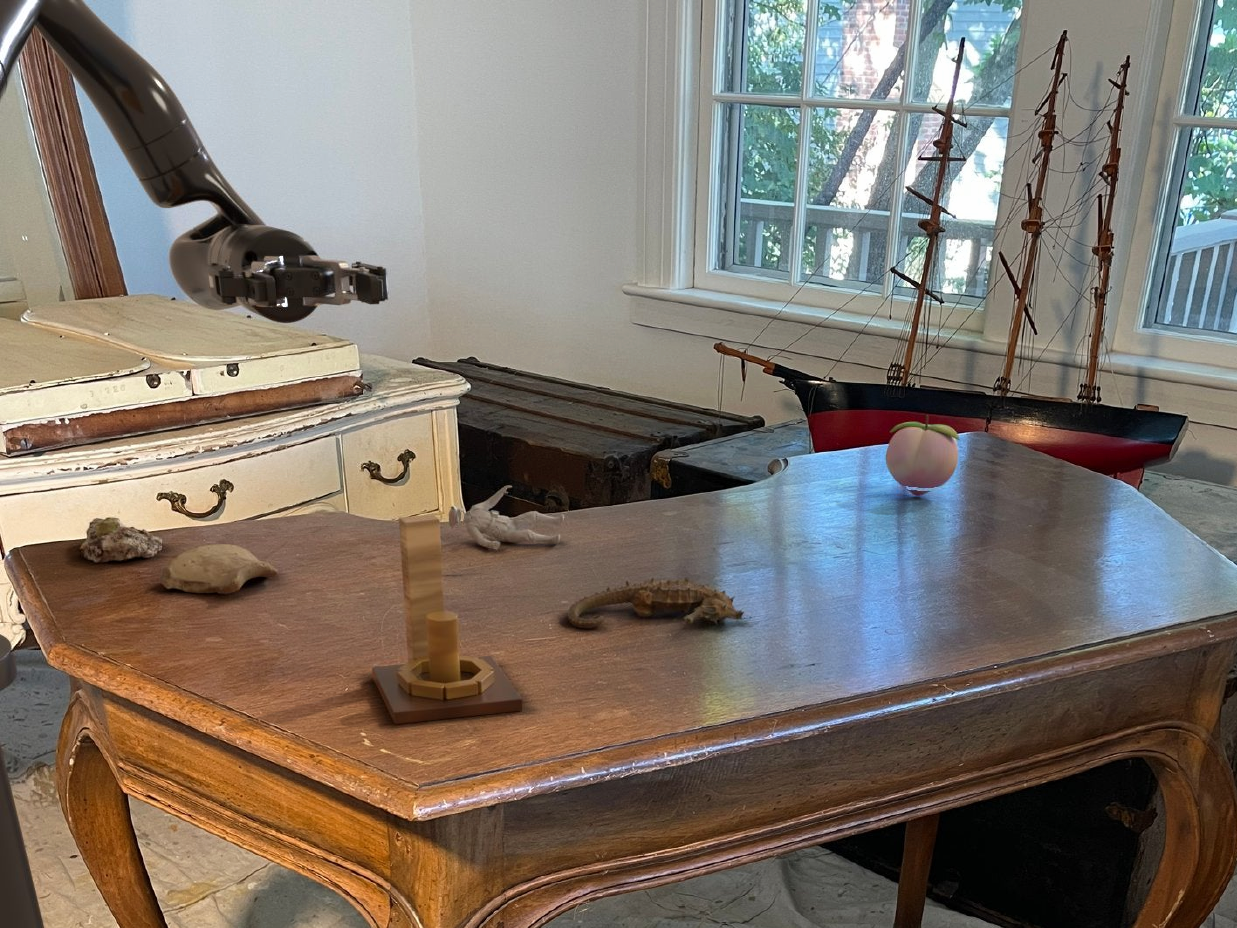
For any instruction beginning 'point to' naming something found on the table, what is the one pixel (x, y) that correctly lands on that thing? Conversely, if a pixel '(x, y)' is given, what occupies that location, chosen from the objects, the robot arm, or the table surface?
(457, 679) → the peg stand
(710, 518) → the table surface
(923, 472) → the decorative fruit
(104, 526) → the mineral rock
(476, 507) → the soldier figure
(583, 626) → the seahorse
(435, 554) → the wooden ring with handle
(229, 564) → the pottery shard
